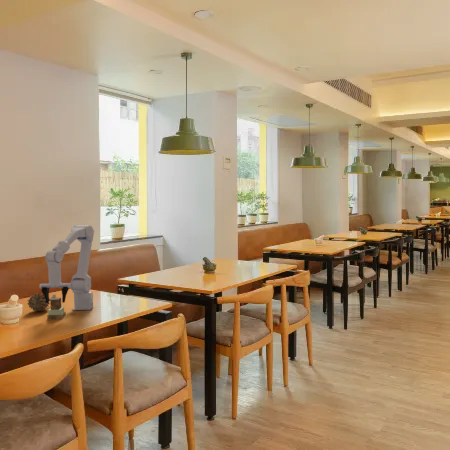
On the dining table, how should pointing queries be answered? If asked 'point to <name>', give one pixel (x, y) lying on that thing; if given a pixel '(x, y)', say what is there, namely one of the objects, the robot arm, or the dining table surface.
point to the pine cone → (38, 302)
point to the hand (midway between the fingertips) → (55, 302)
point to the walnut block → (55, 303)
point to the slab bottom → (56, 316)
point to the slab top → (56, 311)
